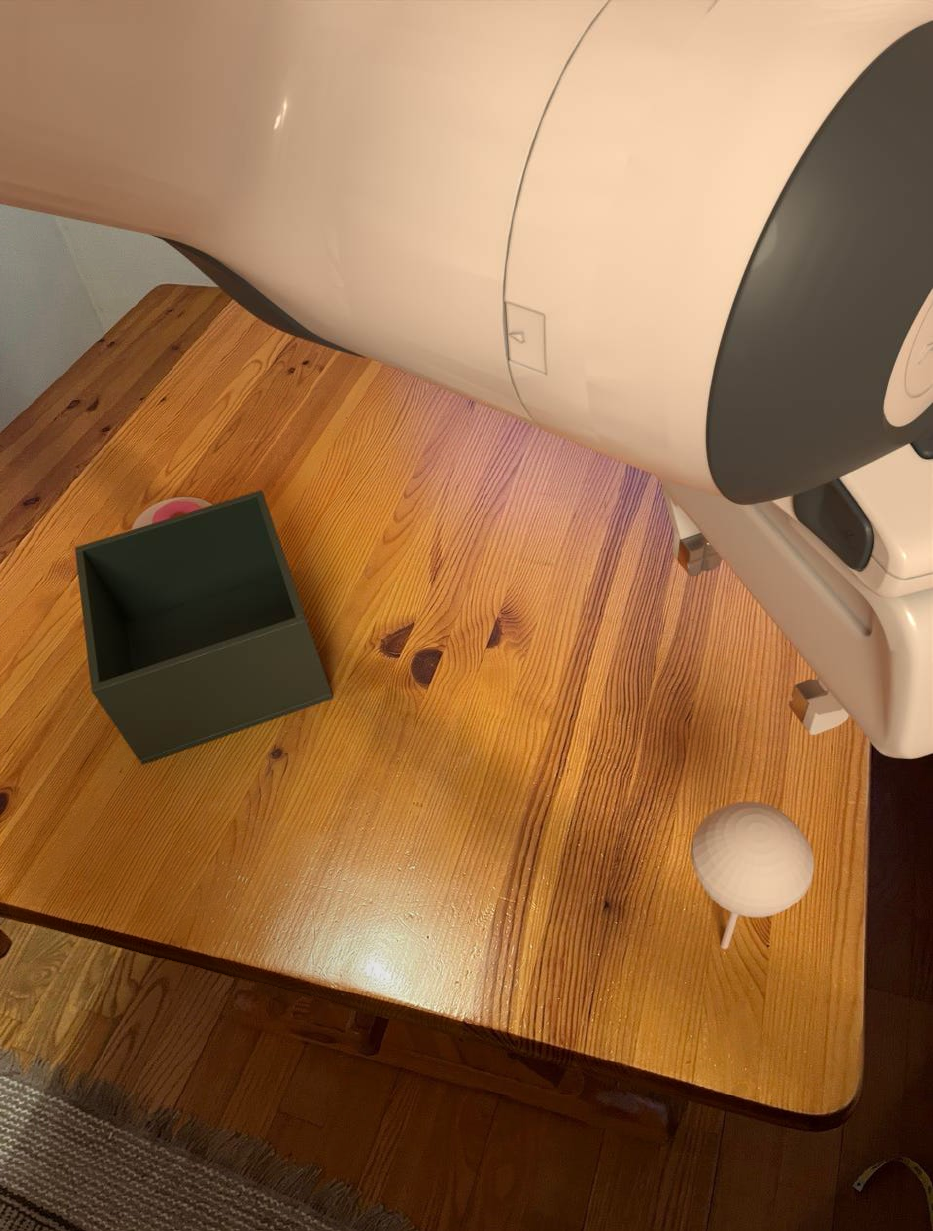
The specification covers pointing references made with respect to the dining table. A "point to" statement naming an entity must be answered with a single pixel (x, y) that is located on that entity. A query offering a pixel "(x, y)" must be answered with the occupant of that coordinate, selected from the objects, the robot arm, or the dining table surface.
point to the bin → (196, 628)
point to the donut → (169, 510)
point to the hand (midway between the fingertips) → (751, 634)
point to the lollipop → (751, 861)
